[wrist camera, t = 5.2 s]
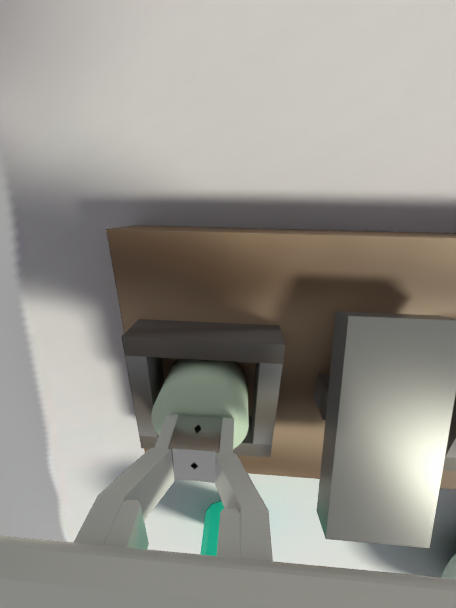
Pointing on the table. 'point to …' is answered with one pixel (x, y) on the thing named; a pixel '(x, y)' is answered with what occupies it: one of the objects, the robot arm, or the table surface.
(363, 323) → the flat grey strip
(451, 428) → the switch panel
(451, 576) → the serving bowl
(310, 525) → the table surface
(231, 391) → the button sage
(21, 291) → the table surface
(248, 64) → the table surface
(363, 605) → the robot arm
